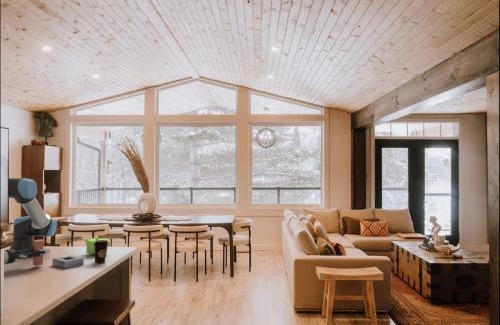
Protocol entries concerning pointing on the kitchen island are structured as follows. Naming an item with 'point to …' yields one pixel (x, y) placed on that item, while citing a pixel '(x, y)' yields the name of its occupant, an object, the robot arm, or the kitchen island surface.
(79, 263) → the grey square frame
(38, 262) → the wedge pin
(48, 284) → the kitchen island surface
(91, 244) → the kettle
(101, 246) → the coffee cup
